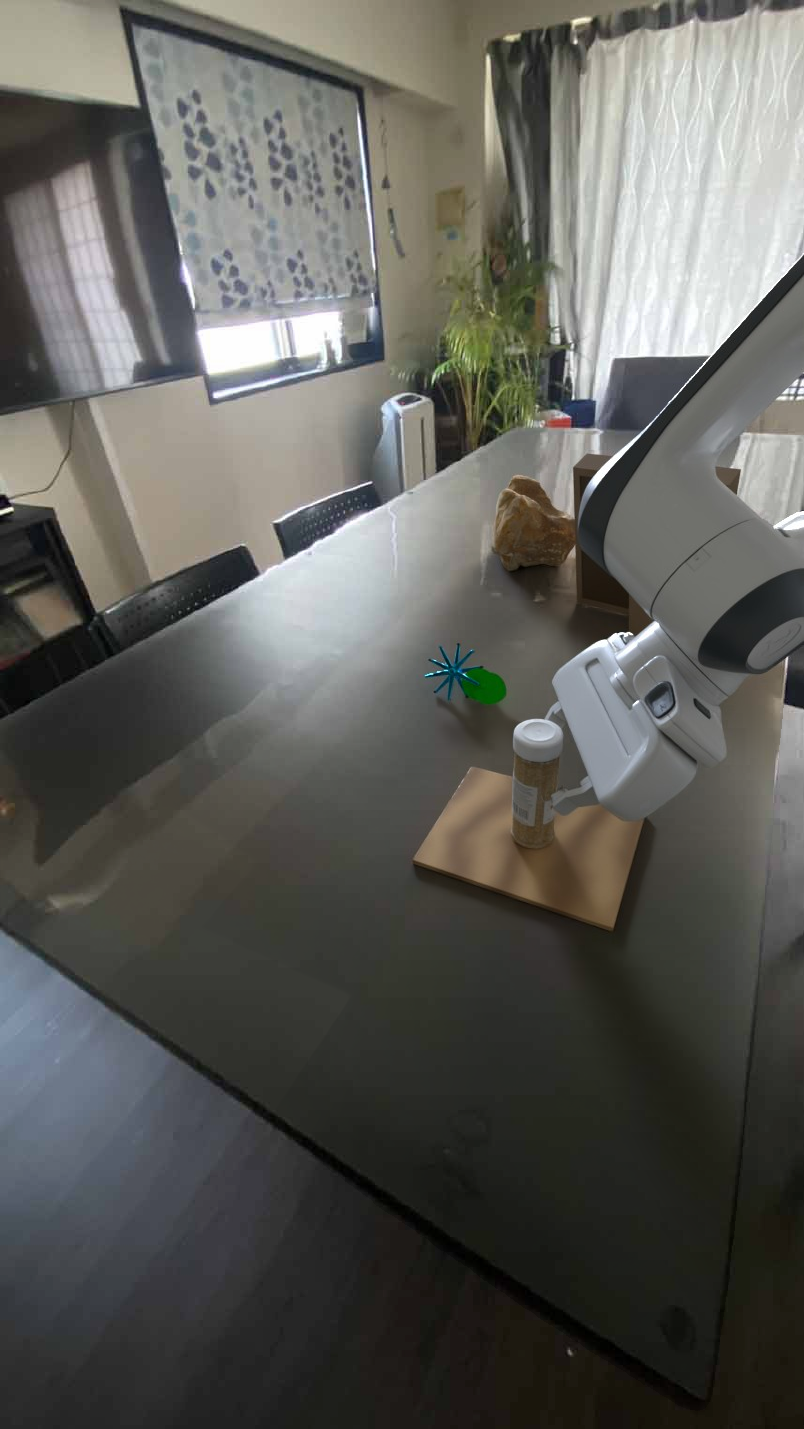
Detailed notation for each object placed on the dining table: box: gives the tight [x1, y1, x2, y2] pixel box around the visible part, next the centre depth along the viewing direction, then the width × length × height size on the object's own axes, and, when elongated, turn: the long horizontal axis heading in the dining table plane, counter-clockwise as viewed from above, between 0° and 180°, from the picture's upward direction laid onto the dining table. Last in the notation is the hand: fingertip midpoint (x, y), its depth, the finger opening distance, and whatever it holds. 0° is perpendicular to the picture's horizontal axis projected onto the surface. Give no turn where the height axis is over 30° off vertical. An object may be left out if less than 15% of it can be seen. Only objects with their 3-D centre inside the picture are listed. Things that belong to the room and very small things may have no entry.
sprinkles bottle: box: [511, 718, 564, 849], centre depth 63 cm, size 5×5×13 cm
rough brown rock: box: [491, 474, 575, 572], centre depth 124 cm, size 23×17×15 cm
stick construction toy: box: [423, 642, 507, 706], centre depth 90 cm, size 12×7×8 cm
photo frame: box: [572, 453, 742, 637], centre depth 96 cm, size 15×22×25 cm
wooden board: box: [412, 766, 646, 933], centre depth 67 cm, size 20×16×1 cm
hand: (545, 773), depth 61 cm, fingers open, 8 cm apart
